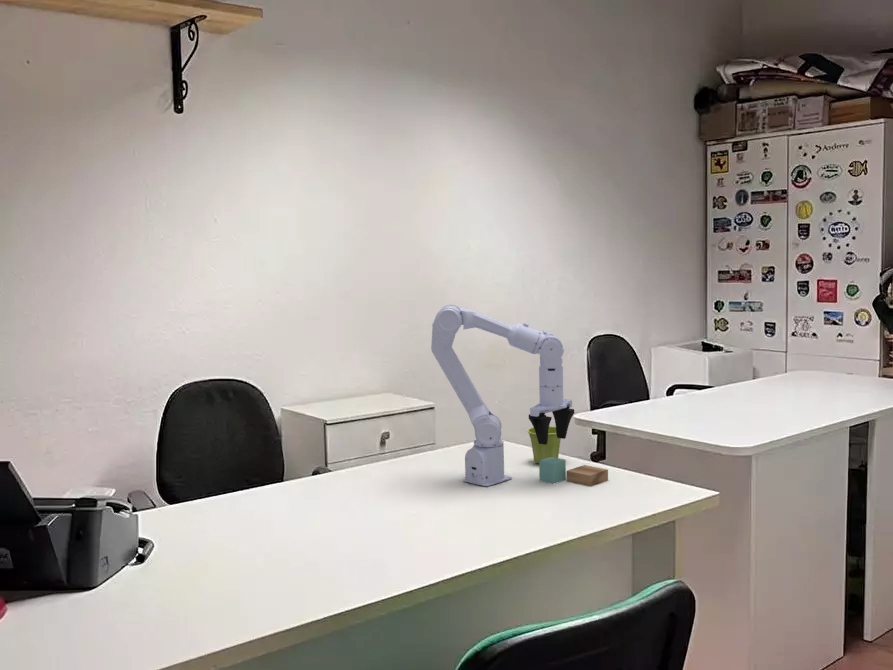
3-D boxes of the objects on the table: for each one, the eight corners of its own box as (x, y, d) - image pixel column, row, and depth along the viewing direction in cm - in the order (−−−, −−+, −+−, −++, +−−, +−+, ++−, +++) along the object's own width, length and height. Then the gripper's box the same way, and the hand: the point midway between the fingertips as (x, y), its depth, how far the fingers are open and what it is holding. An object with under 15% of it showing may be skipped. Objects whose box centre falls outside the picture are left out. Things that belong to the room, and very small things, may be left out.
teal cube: (554, 483, 214) (553, 463, 214) (539, 480, 217) (539, 460, 217) (565, 479, 217) (565, 459, 217) (551, 476, 220) (550, 456, 220)
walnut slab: (590, 488, 211) (590, 475, 210) (566, 482, 216) (566, 470, 215) (608, 481, 215) (607, 469, 215) (584, 476, 220) (584, 464, 220)
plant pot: (566, 466, 230) (565, 433, 229) (529, 467, 230) (528, 434, 229) (562, 457, 239) (561, 425, 238) (526, 458, 239) (526, 426, 238)
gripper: (546, 391, 208) (547, 448, 209) (582, 382, 218) (583, 437, 220) (522, 388, 212) (523, 444, 214) (558, 380, 223) (559, 434, 224)
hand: (552, 441), depth 217 cm, fingers open, 7 cm apart
